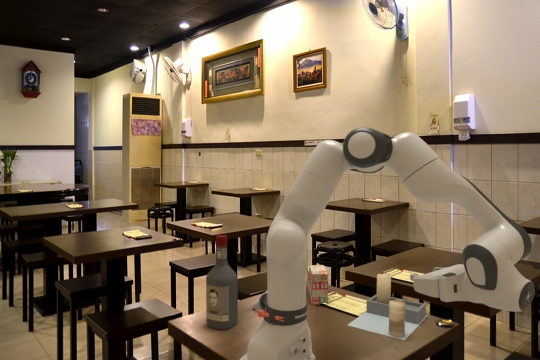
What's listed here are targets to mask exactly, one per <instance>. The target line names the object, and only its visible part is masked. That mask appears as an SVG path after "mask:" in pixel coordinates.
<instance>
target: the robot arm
mask: <svg viewBox="0 0 540 360" xmlns="http://www.w3.org/2000/svg"><path fill="white" fill-rule="evenodd" d="M384 167H386V168H389V169H390V170H392V171H393V172H394V173H395V175H397V177H398V178H399V180H400V181H401V183H402V184H403V185H404V187H405V188H406V189H407V191H408V192H409V193H410V194H411V195H412V196H413V197H414V198H415V199H417V200H418V201H421V202H424V203H429V204H436V203H437V204H438V203H452V204H456V205H459V206H460V207H462V208H463V209H464V210H465V211H466V212H468V214H469V215H470V216H471V217H472V218H473V219H475V221H476V222H477V223H478V224H479V225H480V226H481V227H482V228H483V229H484V233H483V234H482V235H480V236H478V237H476V238H475V239H474V240H473V241H471V242H470V243H469V244H468V245H466V246H465V247H464V249H463V250H462V252H461V260H462V264H460V263H459V264H458V263H457V264H454V265H451V266H448V267H438V266H436V267H432V268H431V271H430V272H427V273H424V274H421V275H419V274H418V273H412V274H411V273H410V275H409V280H410V281H411V282H412V283H413V289H414V291H415V292H417V293H419V294H422V295H425V296H428V297H432V298H436V299H437V298H440V301H442V302H445V303H451V302H471V303H473V304H484V305H485V306H487V307H490V308H492V309H498V310H502V311H507V312H515V313H516V312H517V313H518V312H523V311H525V310H526V309H527V308H528V307H529V306H530V305H531V304H532V302H533V299H534V297H535V291H536V290H535V285H534V283H533V281H531V280H530V279H528V278H526V277H525V276H524V275H523V274H521V272H519V270H518V268H517V267H516V266H515V264H516V263H520V261H523V260H524V259H525V258H527V257H528V256H529V255H530V254H531V252H532V250H533V249H532V248H533V244H532V243H533V242H532V240H531V236H530V235H529V233H528V231H526V229H525V228H523V226H521V224H518V223H517V222H516V221H514V220H513V219H512V218H510V217H509V216H507V215H506V214H505V212H503V211H502V210H501V209H500V208H499V207H498V206H497V205H496V204H495V203H494V202H493V201H492V200H491V199H490V198H489V197H488V196H486V195H485V194H484V192H483V191H481V190H480V188H478V187H477V185H476V184H474V182H472V181H471V180H469V179H468V178H467V177H465V176H463V175H460V174H458V173H457V172H455V171H454V170H453V169H452V168H450V167H449V166H448V165H446V163H445V162H444V161H443V159H441V158H440V157H439V156H438V154H437V153H436V152H435V151H434V149H433V148H431V146H430V145H429V144H428V143H427V142H425V141H424V139H422V138H421V137H420V136H419V135H418V134H416V133H414V132H411V131H407V132H402V133H399V134H397V135H396V136H394V137H393V138H392V137H391V136H390V135H389V134H387V133H385V132H384V133H383V132H382V131H379V130H377V129H374V128H372V127H367V126H360V127H356V128H354V129H352V130H351V131H350V132H348V134H346V136H345V138H344V140H343V142H338V141H336V140H333V139H324V140H322V141H319V143H318V144H317V145H316V147H315V148H314V149H313V150H312V152H311V153H310V155H308V157H307V159H306V161H305V162H304V163H303V166H302V167H301V169H300V171H299V173H298V175H297V177H296V178H295V180H294V182H293V184H292V186H291V188H290V190H288V191H289V192H288V193H287V195H286V197H285V199H284V200H283V202H282V204H281V206H279V207H280V208H279V209H278V211H277V213H276V215H275V217H274V218H273V220H272V222H271V223H270V225H269V229H268V232H267V235H266V240H265V242H266V243H265V244H266V247H265V249H266V251H265V252H266V273H267V276H266V277H267V283H266V284H267V289H266V291H267V304H266V307H265V311H263V310H261V309H260V308H259V310H258V312H257V316H258V318H262V321H261V323H260V324H259V325H258V327H257V329H256V330H255V332H254V333H253V334H252V336H251V338H250V339H249V341H248V344H247V351H246V353H244V355H243V356H242V357H240V358H239V360H316V356H315V354H314V353H313V347H312V346H313V344H312V334H311V333H312V332H311V329H310V326H309V323H308V321H307V318H308V313H309V311H308V310H309V309H308V304H307V264H308V263H307V261H308V259H307V257H308V255H307V254H308V236H309V233H310V232H311V231H312V228H313V227H314V226H315V224H316V223H317V221H318V219H319V218H320V217H321V215H322V214H323V212H324V211H325V209H326V207H327V205H328V204H329V202H330V200H331V198H332V196H333V194H334V192H335V191H336V189H337V186H338V185H339V183H340V182H341V180H342V177H343V176H344V175H345V174H346V173H347V172H348V171H352V172H358V173H362V174H375V173H377V172H380V171H381V170H382V169H383V168H384Z"/></svg>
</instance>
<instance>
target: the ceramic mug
mask: <svg viewBox="0 0 540 360" xmlns="http://www.w3.org/2000/svg"><path fill="white" fill-rule="evenodd" d="M266 304H267V290H265V292H263V293H262V294H261V295H260V297H259V299H258V301H257V302H255V303H254V304H253V305H252V307H253V309H254V310H258V309H259V310H260V309H261V310H263V311H265V307H266Z"/></svg>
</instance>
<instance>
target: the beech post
mask: <svg viewBox="0 0 540 360" xmlns="http://www.w3.org/2000/svg"><path fill="white" fill-rule="evenodd" d="M389 335H391V336H394V337H403V336H405V302H403V301H400V300H391V301H389Z"/></svg>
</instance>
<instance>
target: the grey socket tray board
mask: <svg viewBox="0 0 540 360" xmlns="http://www.w3.org/2000/svg"><path fill="white" fill-rule="evenodd" d="M391 283H392V276H391V274H387V273H378V274H377V275H376V294H374V295H373V296H372V297H370V298H369V299H367V300H366V311H365V312H363V313H362V314H361V315H359V316H358V317H356V318H355V319H354V320H352V321H350V322H349V323H348V324H347V326H348V327H352V328H356V329H360V330H363V331H366V332H367V331H368V332H372V333H376V334H380V335H383V336H386V337H391V338H394V339H398V340H402V341H406V339H408V338H409V336H410V335H411V334H412V333H413V332H414V331H415V330H416V329H417V328H418V327H419V326H420V325H421V324H422V322H424V320H426V318H428V315H427V313H426V312H427V304H426V303H421V302H419V301H417V302H416V301H413V300H407V299H404V298H403V299H402V298H397V297H393V296H392V294H391V291H392V289H391V288H392V284H391ZM391 300H400V301H403V302H405V336H403V337H394V336H391V335H389V301H391Z"/></svg>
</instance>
